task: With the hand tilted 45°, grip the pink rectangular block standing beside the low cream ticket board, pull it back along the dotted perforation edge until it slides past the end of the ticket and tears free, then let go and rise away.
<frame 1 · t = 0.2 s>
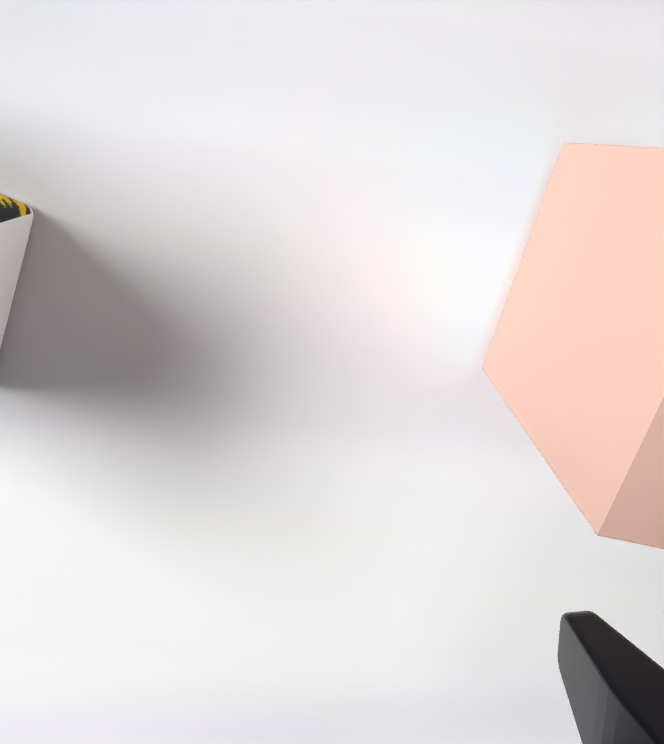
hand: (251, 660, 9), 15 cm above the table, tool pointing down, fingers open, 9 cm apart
pink rectangular block: (644, 317, 17), point 5 cm above the table, slide at 0.0 cm
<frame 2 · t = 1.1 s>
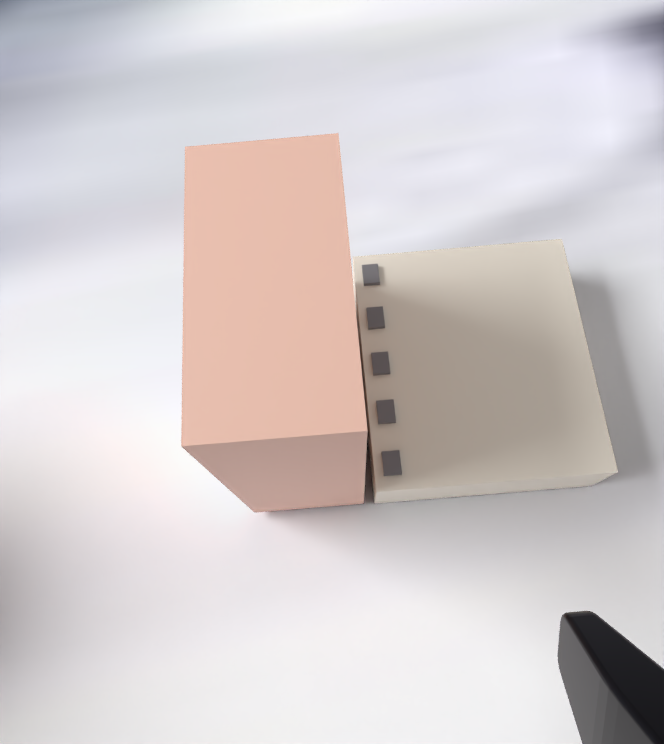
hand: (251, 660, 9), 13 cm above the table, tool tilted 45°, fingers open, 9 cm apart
ticket board: (464, 380, 24), on the table
pink rectangular block: (289, 354, 19), point 5 cm above the table, slide at 0.0 cm
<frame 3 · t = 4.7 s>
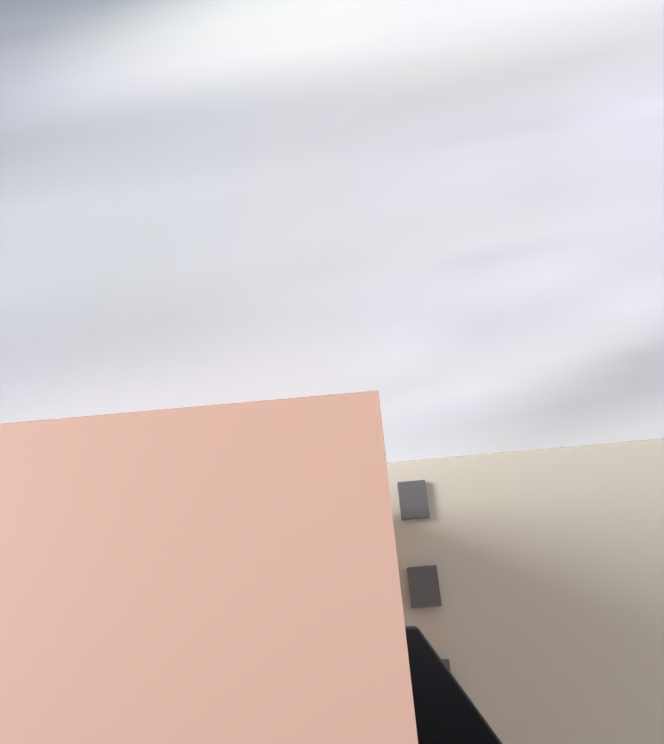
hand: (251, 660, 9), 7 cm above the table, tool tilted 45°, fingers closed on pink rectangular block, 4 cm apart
ticket board: (567, 659, 15), on the table
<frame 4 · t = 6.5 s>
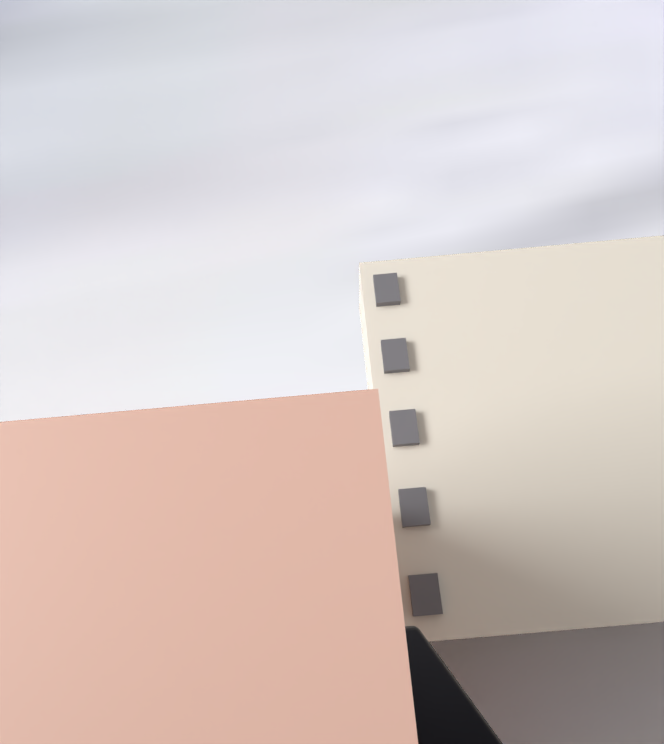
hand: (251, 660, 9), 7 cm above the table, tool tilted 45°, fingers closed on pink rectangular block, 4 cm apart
ticket board: (524, 444, 17), on the table
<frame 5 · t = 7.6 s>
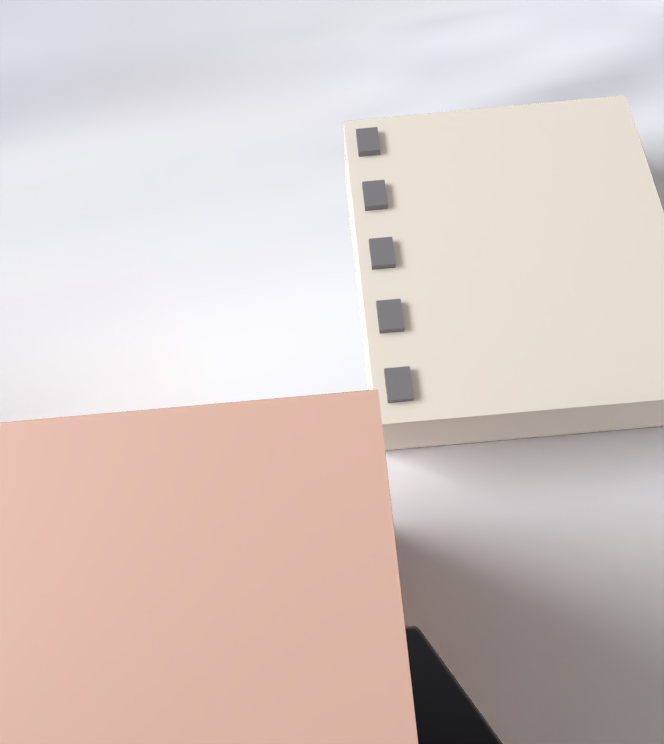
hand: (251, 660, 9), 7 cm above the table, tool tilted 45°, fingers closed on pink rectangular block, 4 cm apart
ticket board: (494, 290, 18), on the table
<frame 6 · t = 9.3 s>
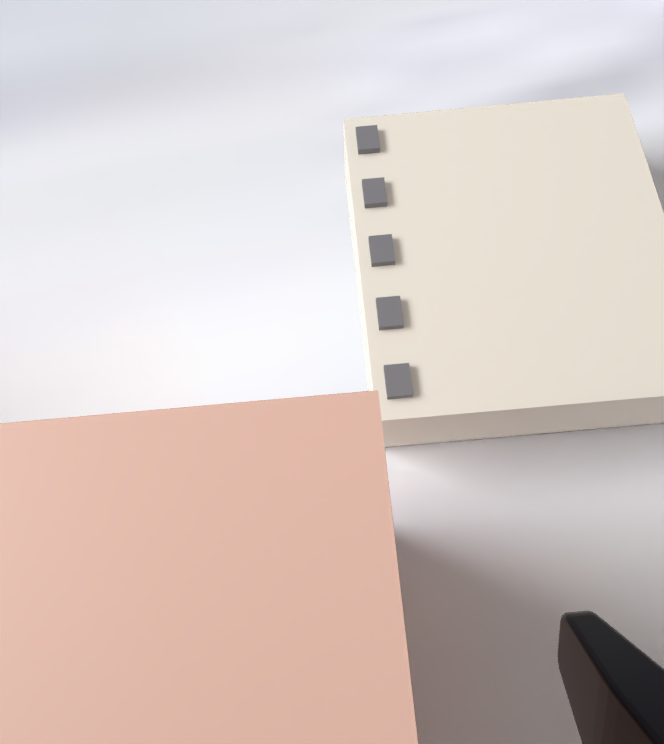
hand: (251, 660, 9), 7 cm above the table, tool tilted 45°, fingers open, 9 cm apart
ticket board: (493, 288, 18), on the table
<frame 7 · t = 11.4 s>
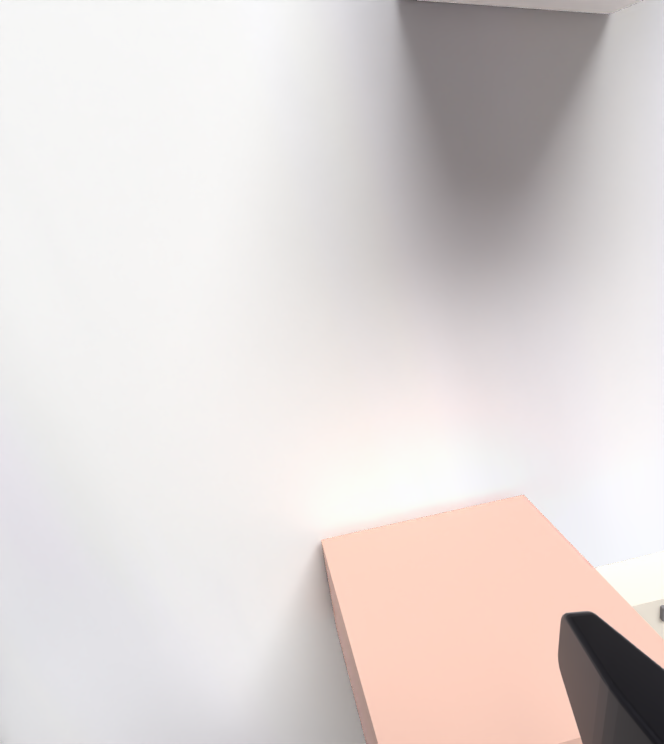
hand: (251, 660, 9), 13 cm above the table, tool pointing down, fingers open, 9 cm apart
pink rectangular block: (480, 653, 19), point 5 cm above the table, slide at 10.0 cm
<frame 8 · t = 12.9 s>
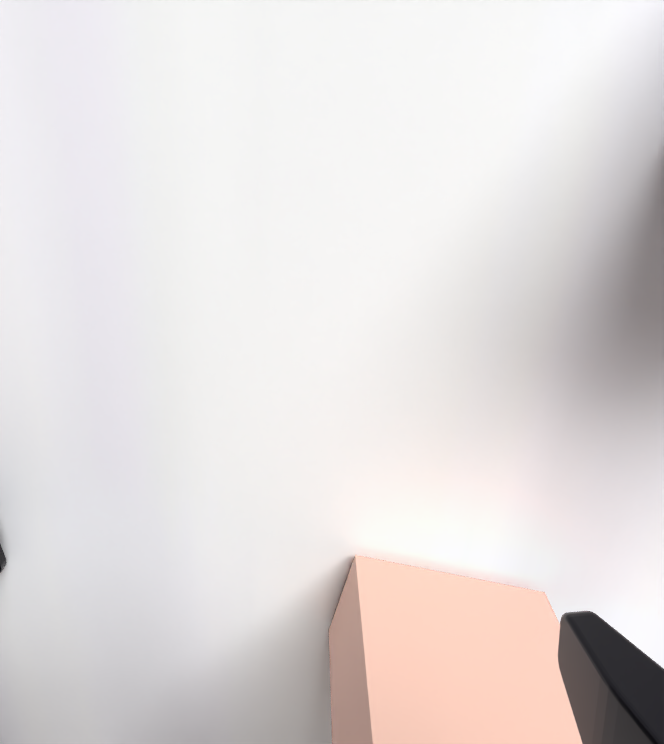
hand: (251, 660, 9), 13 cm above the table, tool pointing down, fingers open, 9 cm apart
pink rectangular block: (462, 723, 21), point 5 cm above the table, slide at 10.0 cm
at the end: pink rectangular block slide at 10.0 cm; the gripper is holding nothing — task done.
